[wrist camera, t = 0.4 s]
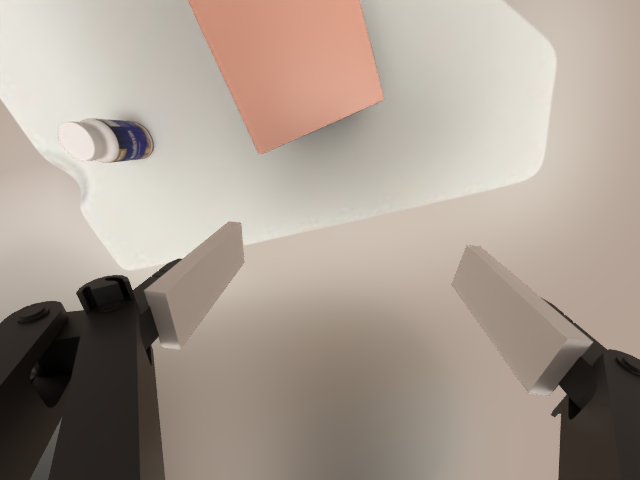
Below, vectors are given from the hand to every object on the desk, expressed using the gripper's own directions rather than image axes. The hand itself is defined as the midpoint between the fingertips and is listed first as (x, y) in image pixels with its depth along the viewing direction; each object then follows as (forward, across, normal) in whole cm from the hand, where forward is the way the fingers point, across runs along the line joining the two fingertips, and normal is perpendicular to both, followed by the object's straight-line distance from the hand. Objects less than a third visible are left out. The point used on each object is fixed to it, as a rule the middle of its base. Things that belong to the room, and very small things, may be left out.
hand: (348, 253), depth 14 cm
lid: (+13, -6, +12) cm, 19 cm away
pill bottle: (+27, -35, +3) cm, 44 cm away
